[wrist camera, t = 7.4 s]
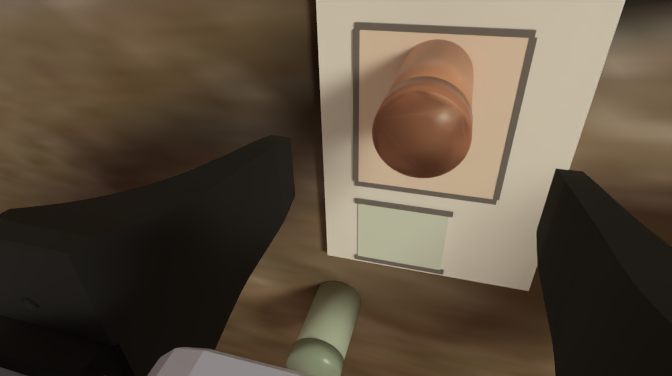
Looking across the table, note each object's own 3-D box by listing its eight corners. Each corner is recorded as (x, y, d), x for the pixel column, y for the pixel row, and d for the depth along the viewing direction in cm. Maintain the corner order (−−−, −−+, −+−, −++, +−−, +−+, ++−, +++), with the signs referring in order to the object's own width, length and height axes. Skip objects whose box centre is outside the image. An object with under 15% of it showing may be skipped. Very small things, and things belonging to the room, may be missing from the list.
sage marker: (362, 285, 29) (338, 362, 24) (361, 317, 31) (339, 395, 26) (315, 276, 30) (283, 349, 25) (317, 308, 31) (288, 382, 27)
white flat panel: (733, -348, 11) (746, -360, 11) (527, 283, 25) (528, 292, 24) (308, -289, 14) (301, -297, 14) (330, 248, 28) (327, 256, 27)
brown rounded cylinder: (468, 114, 20) (463, 184, 15) (396, 106, 20) (370, 171, 16) (481, 40, 18) (480, 94, 13) (402, 35, 18) (373, 84, 14)
